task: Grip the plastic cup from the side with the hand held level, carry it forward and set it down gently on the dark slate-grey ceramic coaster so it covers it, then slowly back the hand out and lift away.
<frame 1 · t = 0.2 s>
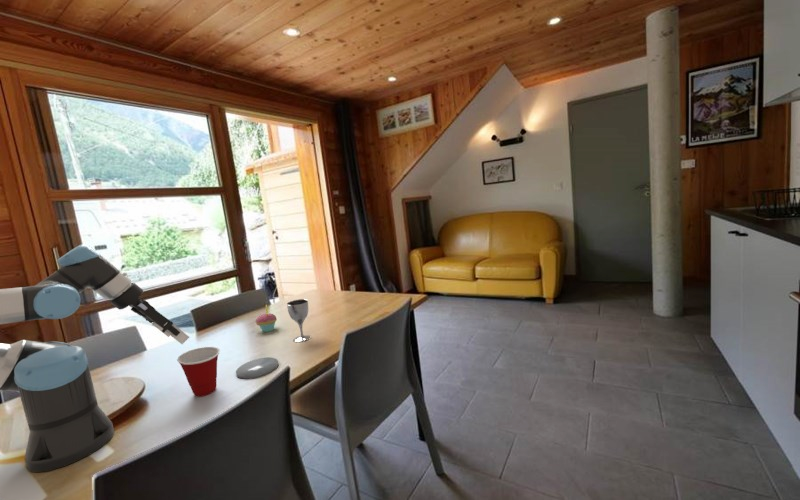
hand: (178, 336, 109), 15 cm above the table, tool tilted 35°, fingers open, 13 cm apart
wine glass: (302, 339, 137), on the table
plastic cup: (206, 392, 102), on the table
cupcake: (267, 330, 152), on the table
coaster: (257, 368, 114), on the table
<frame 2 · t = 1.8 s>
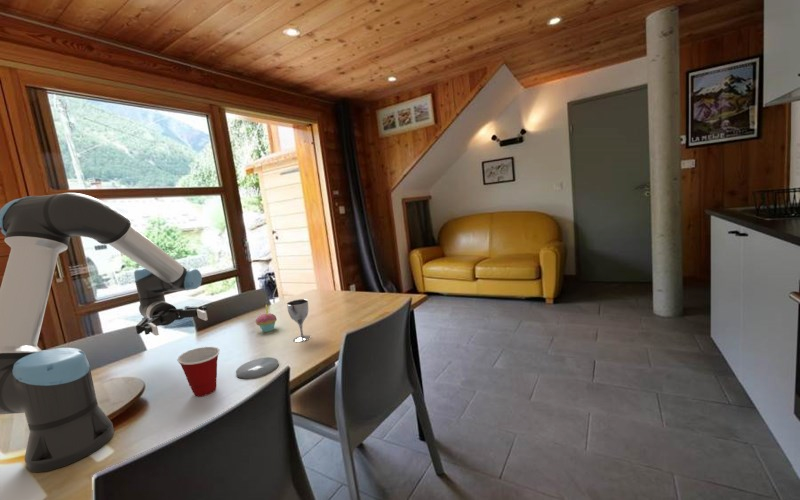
hand: (182, 323, 107), 19 cm above the table, tool horizontal, fingers open, 13 cm apart
nothing on the table moved.
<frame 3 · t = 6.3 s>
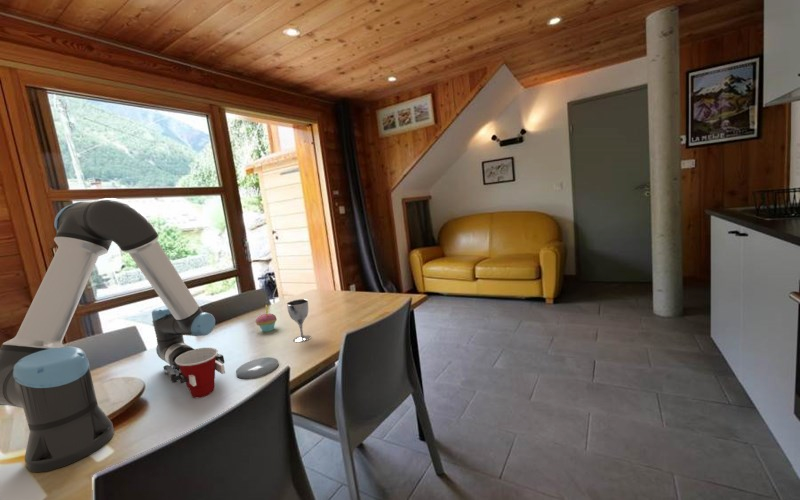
hand: (209, 375, 98), 6 cm above the table, tool horizontal, fingers closed on plastic cup, 7 cm apart
plastic cup: (204, 393, 102), on the table, touching gripper
everything else where it was.
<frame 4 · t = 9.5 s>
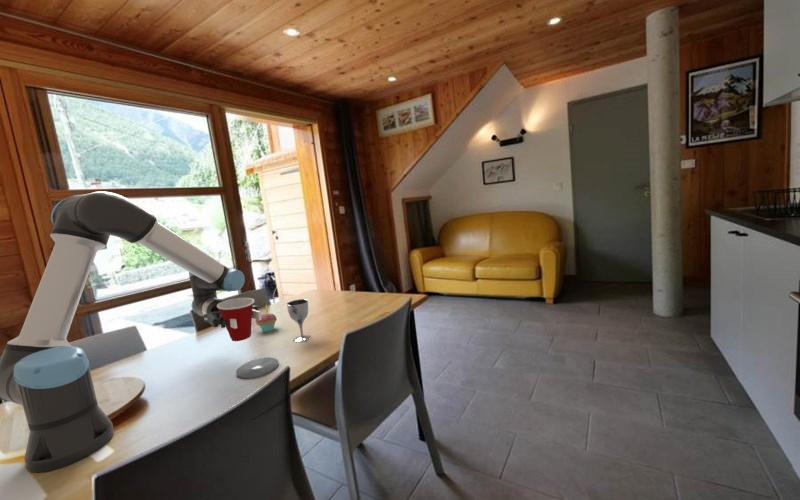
hand: (248, 319, 107), 18 cm above the table, tool horizontal, fingers closed on plastic cup, 7 cm apart
plastic cup: (242, 338, 110), point 12 cm above the table, touching gripper
everything else where it was.
when the fingers open (7 cm above the table, at t = 12.4 s): plastic cup stays where it is, resting on coaster.
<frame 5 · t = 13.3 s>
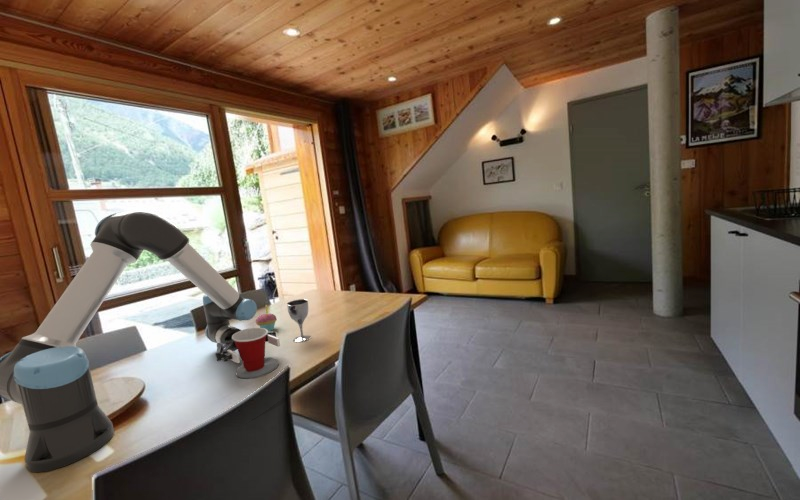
hand: (259, 350, 111), 7 cm above the table, tool horizontal, fingers open, 13 cm apart
plastic cup: (255, 368, 113), point 1 cm above the table, touching coaster
everything else where it was.
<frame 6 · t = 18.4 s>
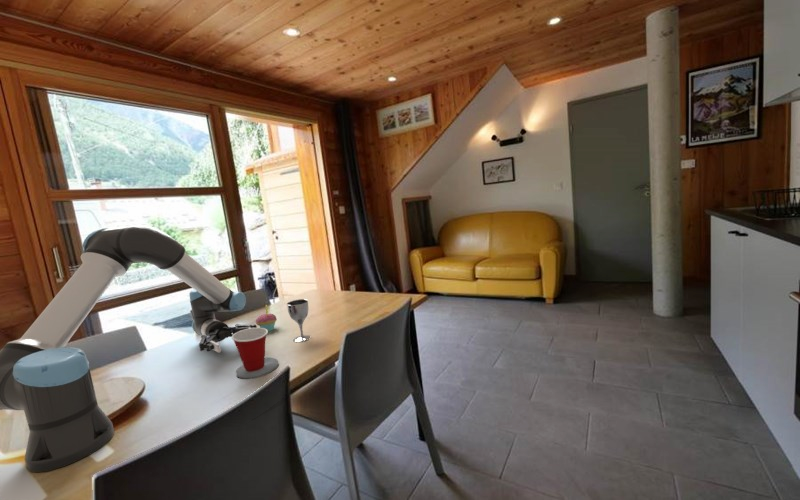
hand: (239, 341, 121), 7 cm above the table, tool horizontal, fingers open, 13 cm apart
nothing on the table moved.
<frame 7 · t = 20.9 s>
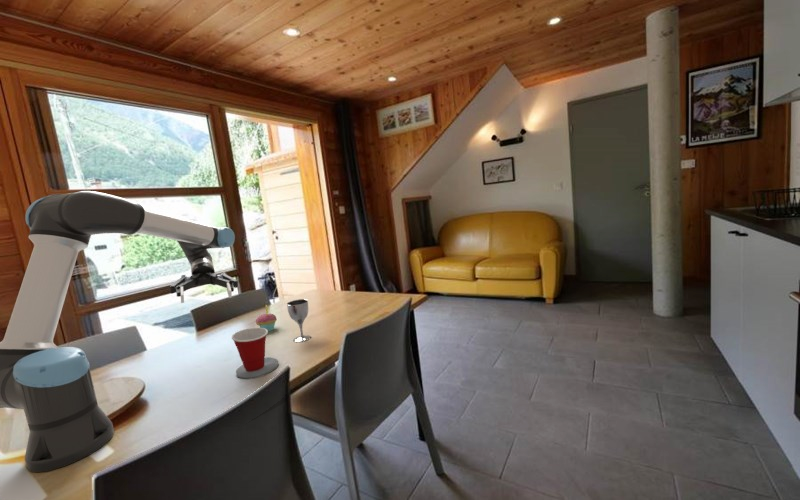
hand: (207, 296, 112), 25 cm above the table, tool tilted 75°, fingers open, 13 cm apart
nothing on the table moved.
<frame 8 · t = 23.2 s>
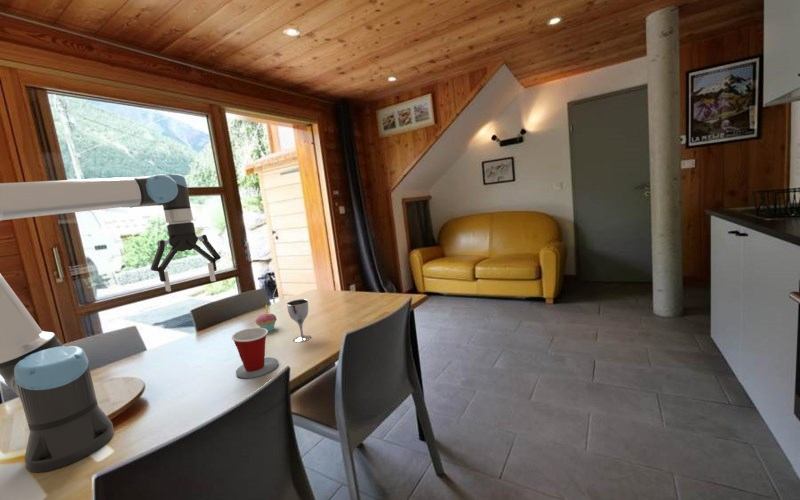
hand: (191, 285, 116), 29 cm above the table, tool pointing down, fingers open, 13 cm apart
nothing on the table moved.
at the end: plastic cup 0.7 cm from the coaster (horizontally); plastic cup tilted 0°; plastic cup touching coaster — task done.
